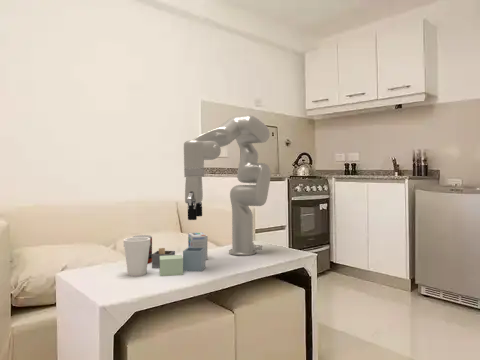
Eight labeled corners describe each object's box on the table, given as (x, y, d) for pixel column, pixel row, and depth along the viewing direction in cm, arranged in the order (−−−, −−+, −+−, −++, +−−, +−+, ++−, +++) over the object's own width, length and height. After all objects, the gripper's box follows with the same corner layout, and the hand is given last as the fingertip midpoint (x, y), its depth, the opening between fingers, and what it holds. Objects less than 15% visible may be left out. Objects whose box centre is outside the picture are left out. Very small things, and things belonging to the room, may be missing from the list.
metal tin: (174, 265, 149) (174, 250, 149) (169, 270, 142) (169, 254, 142) (157, 265, 149) (157, 250, 149) (152, 269, 142) (151, 254, 142)
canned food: (147, 265, 148) (147, 238, 148) (128, 264, 150) (128, 237, 150) (155, 261, 156) (155, 235, 156) (137, 260, 157) (137, 234, 157)
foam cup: (151, 277, 131) (150, 240, 131) (123, 279, 128) (123, 241, 128) (149, 270, 140) (149, 236, 140) (124, 272, 138) (123, 237, 137)
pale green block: (181, 271, 139) (181, 254, 139) (182, 276, 133) (182, 258, 133) (159, 273, 137) (159, 255, 137) (160, 277, 131) (160, 259, 131)
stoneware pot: (205, 268, 144) (205, 247, 144) (201, 272, 137) (201, 251, 137) (187, 267, 145) (187, 247, 145) (183, 272, 138) (182, 250, 138)
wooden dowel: (165, 265, 146) (165, 248, 146) (164, 267, 144) (163, 249, 144) (160, 265, 146) (159, 248, 146) (158, 267, 144) (157, 249, 144)
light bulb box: (187, 257, 164) (187, 232, 164) (202, 256, 167) (202, 232, 166) (192, 262, 154) (192, 236, 154) (208, 261, 156) (208, 235, 156)
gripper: (190, 172, 150) (191, 215, 151) (178, 173, 133) (179, 221, 133) (208, 172, 149) (209, 215, 150) (199, 173, 132) (200, 221, 133)
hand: (195, 218), depth 142 cm, fingers open, 9 cm apart
